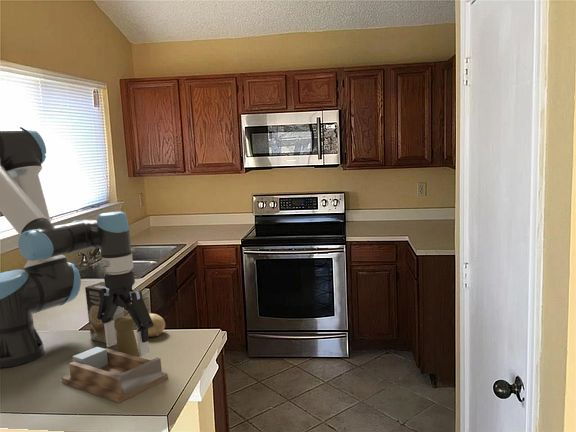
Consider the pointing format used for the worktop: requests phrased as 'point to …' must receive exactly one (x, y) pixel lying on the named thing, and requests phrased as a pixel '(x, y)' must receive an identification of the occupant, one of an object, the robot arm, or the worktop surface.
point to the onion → (156, 325)
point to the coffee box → (93, 307)
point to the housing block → (93, 357)
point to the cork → (126, 336)
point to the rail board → (116, 376)
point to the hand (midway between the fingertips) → (127, 349)
